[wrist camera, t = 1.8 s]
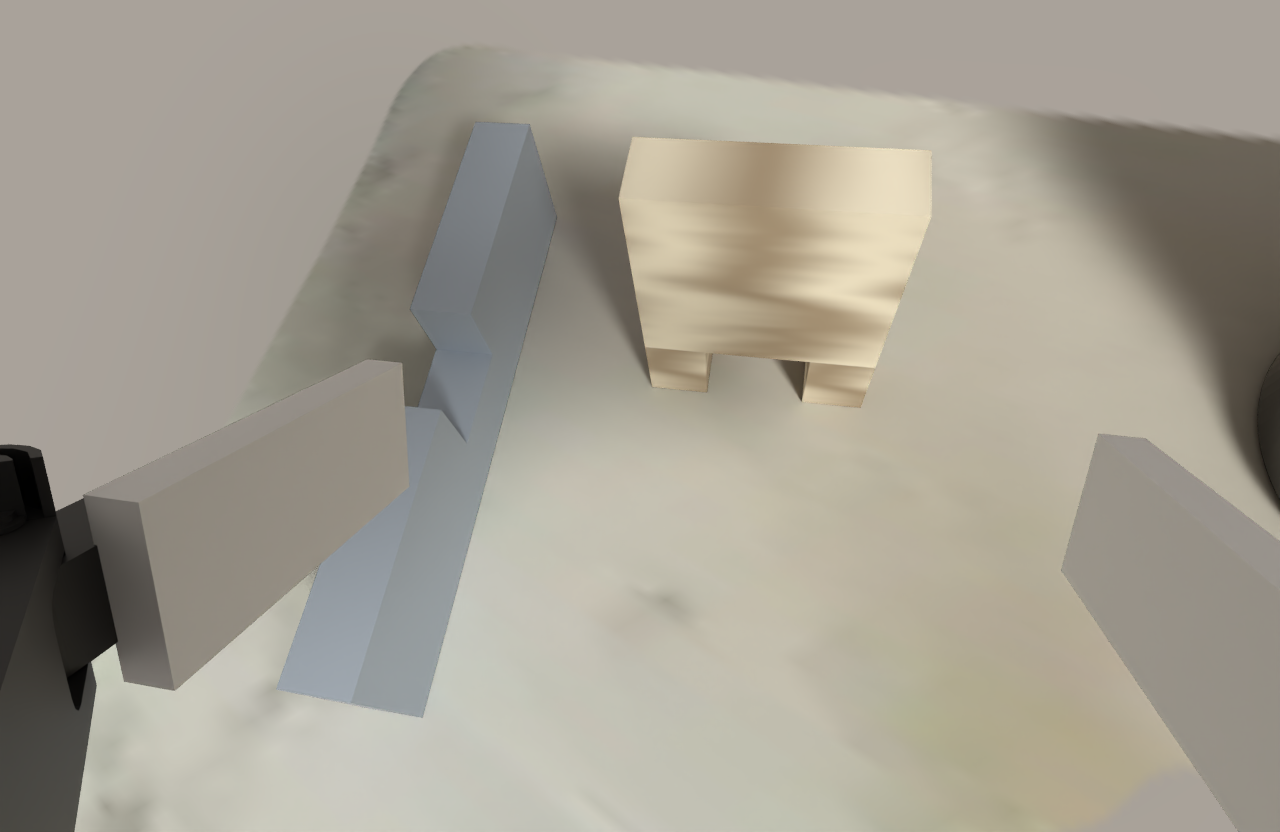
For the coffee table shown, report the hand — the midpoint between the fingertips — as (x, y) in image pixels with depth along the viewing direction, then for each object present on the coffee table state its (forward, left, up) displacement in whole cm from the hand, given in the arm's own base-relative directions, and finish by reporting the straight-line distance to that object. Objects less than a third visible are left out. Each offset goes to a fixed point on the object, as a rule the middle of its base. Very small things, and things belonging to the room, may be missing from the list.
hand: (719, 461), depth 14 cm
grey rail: (+13, -2, -16) cm, 21 cm away
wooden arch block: (+3, -10, -16) cm, 19 cm away
